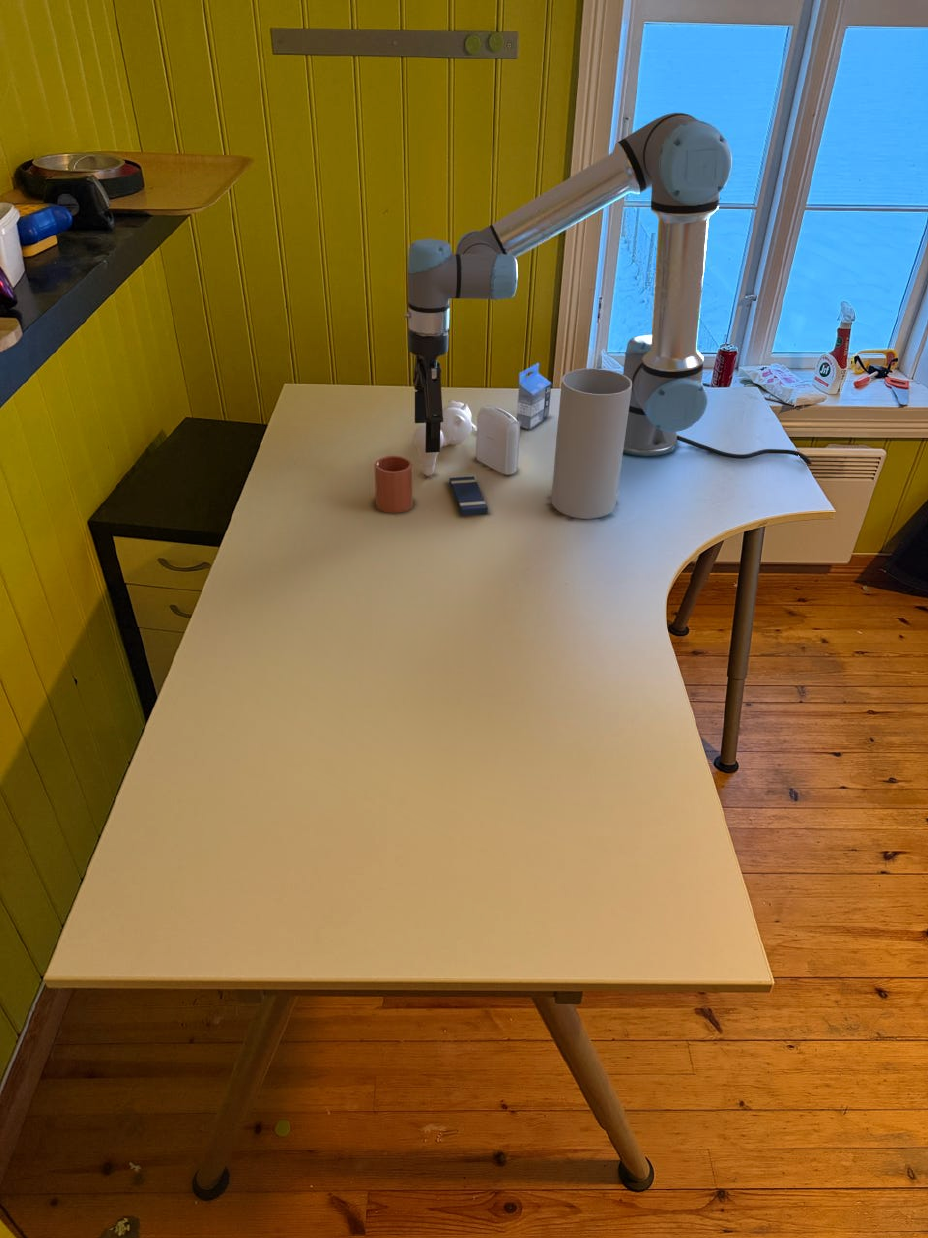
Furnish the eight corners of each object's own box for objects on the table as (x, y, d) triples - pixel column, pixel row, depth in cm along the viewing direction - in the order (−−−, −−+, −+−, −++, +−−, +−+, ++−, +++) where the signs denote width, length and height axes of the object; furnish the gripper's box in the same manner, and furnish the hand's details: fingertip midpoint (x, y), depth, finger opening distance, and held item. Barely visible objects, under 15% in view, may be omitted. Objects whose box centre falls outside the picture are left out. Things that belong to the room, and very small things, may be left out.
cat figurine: (453, 386, 199) (447, 406, 189) (492, 413, 202) (489, 434, 192) (431, 417, 204) (424, 438, 194) (470, 443, 206) (466, 465, 197)
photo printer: (472, 459, 192) (474, 403, 185) (488, 454, 194) (490, 399, 187) (504, 477, 186) (508, 420, 178) (520, 472, 188) (524, 415, 181)
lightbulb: (448, 472, 187) (448, 421, 181) (434, 484, 183) (435, 433, 176) (421, 465, 189) (421, 415, 183) (407, 477, 185) (407, 427, 178)
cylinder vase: (584, 527, 170) (599, 400, 155) (537, 502, 178) (547, 378, 163) (628, 506, 177) (646, 383, 162) (580, 483, 185) (594, 363, 170)
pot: (419, 501, 177) (419, 461, 172) (400, 516, 172) (399, 475, 167) (388, 492, 180) (387, 452, 175) (369, 507, 175) (367, 466, 170)
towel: (473, 482, 184) (473, 475, 183) (487, 514, 174) (487, 507, 173) (449, 483, 183) (449, 477, 182) (461, 515, 173) (462, 509, 172)
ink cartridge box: (530, 430, 204) (534, 377, 197) (515, 426, 206) (518, 373, 199) (549, 417, 210) (553, 365, 203) (534, 413, 212) (538, 361, 205)
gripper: (398, 309, 177) (399, 411, 190) (418, 354, 158) (417, 465, 170) (436, 308, 179) (434, 410, 191) (461, 353, 159) (457, 463, 172)
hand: (426, 436), depth 181 cm, fingers open, 13 cm apart
